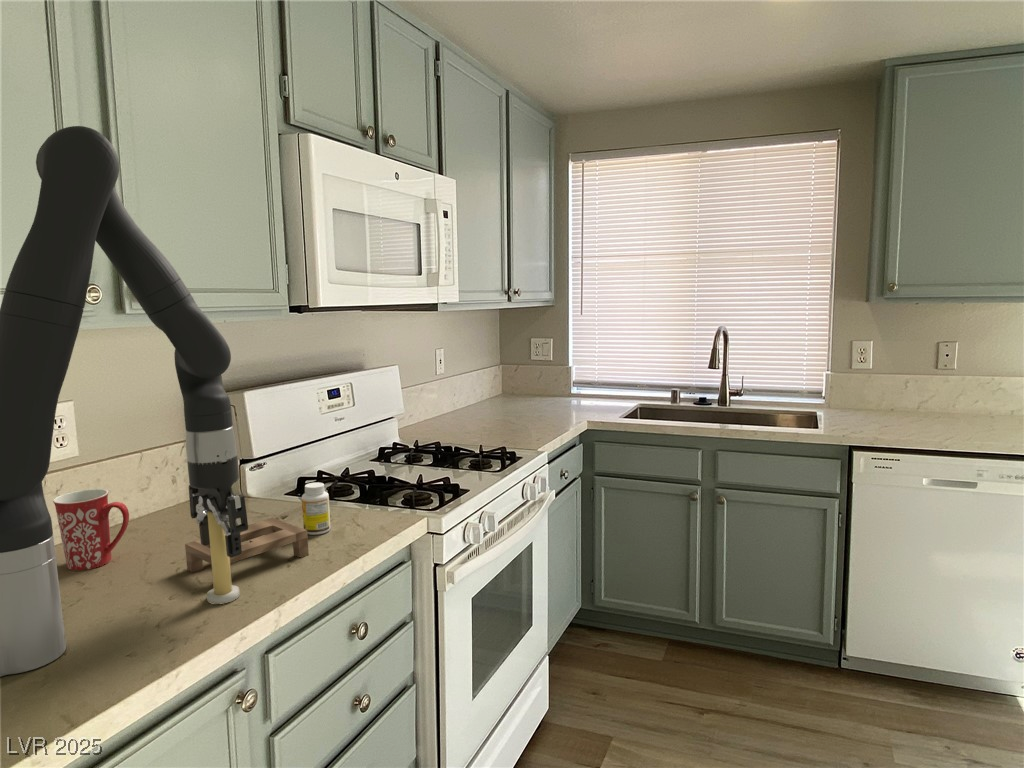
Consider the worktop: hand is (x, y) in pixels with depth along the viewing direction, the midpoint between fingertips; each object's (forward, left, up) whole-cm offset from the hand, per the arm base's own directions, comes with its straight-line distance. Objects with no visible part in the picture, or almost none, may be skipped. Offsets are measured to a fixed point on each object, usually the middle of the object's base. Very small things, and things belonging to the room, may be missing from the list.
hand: (221, 549), depth 115 cm
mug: (-7, +34, -9) cm, 36 cm away
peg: (0, 0, -8) cm, 8 cm away
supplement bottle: (+29, +15, -9) cm, 33 cm away
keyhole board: (+11, +11, -8) cm, 17 cm away
